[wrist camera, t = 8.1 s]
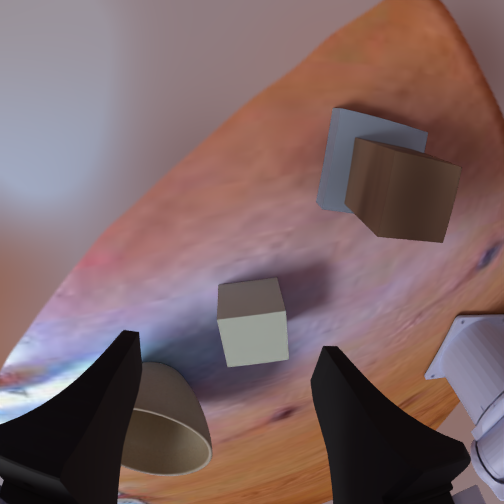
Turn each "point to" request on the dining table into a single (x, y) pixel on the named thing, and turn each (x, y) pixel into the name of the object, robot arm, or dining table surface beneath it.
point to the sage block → (252, 322)
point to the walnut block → (401, 191)
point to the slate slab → (341, 150)
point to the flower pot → (166, 426)
